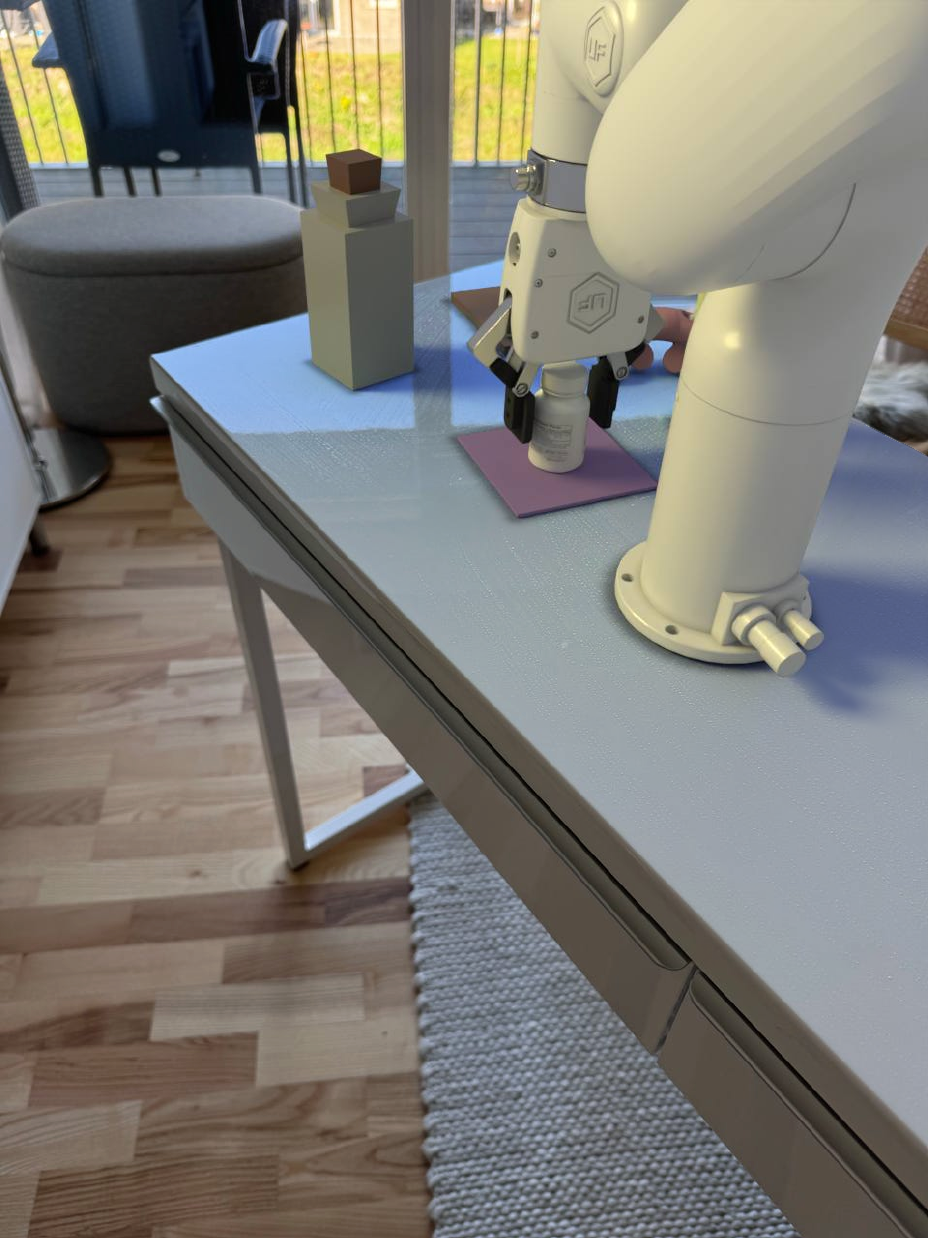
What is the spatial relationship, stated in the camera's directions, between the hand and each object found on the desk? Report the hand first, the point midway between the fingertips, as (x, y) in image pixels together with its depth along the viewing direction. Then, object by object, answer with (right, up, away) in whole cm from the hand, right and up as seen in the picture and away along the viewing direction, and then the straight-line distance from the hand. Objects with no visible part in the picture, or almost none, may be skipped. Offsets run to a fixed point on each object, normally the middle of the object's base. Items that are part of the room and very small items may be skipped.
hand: (558, 425), depth 71 cm
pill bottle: (0, -2, +2) cm, 3 cm away
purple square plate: (0, -2, +2) cm, 3 cm away
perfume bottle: (-17, +8, +14) cm, 23 cm away
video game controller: (+11, +8, +15) cm, 20 cm away
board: (-1, +16, +23) cm, 28 cm away
